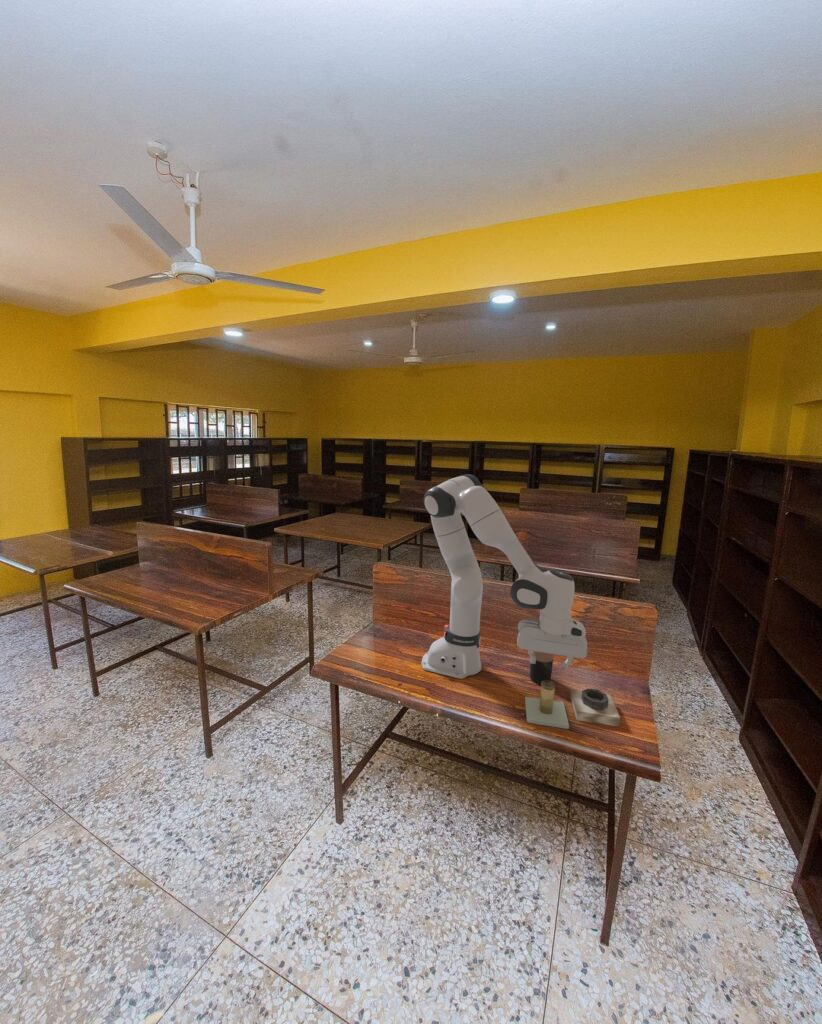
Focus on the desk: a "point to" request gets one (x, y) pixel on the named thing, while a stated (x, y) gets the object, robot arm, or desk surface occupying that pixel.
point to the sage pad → (554, 719)
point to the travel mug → (541, 667)
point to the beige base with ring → (594, 707)
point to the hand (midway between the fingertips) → (548, 665)
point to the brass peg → (547, 696)
